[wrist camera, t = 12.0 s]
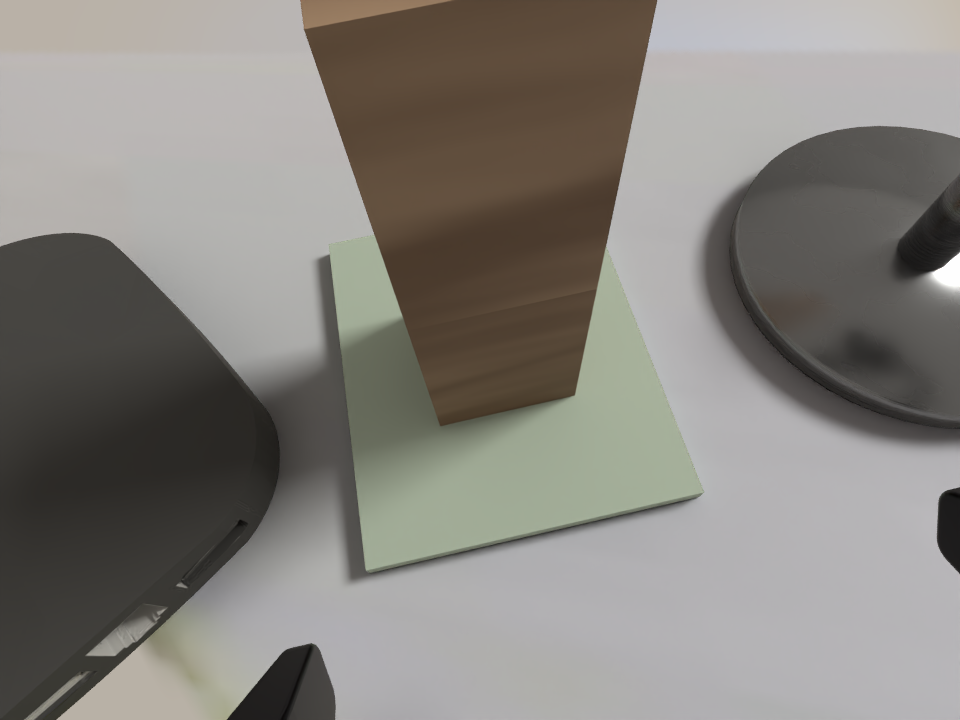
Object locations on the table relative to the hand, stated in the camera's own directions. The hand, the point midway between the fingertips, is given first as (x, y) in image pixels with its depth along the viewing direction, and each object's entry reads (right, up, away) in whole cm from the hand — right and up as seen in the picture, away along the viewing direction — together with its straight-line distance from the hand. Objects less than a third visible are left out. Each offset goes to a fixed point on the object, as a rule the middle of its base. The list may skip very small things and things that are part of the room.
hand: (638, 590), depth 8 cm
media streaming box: (-17, -1, +11) cm, 21 cm away
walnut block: (-2, +4, +11) cm, 12 cm away
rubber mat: (-2, +3, +12) cm, 12 cm away
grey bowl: (+13, +6, +12) cm, 19 cm away
